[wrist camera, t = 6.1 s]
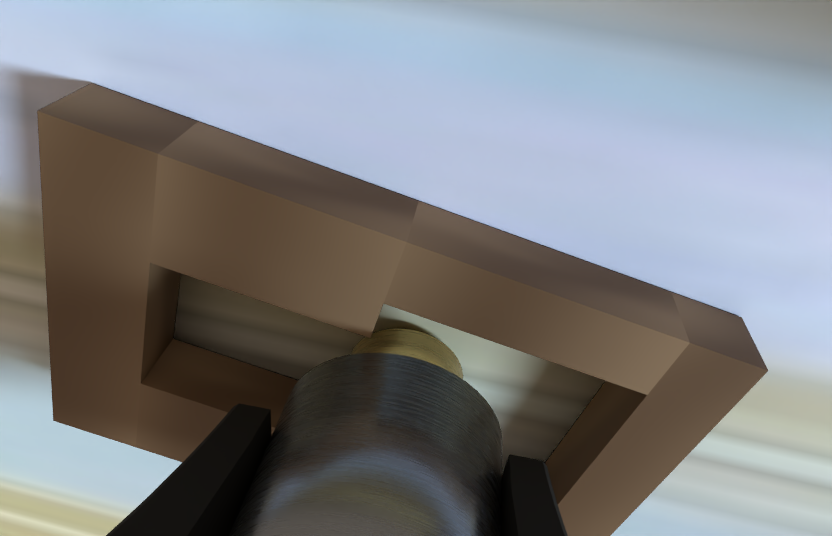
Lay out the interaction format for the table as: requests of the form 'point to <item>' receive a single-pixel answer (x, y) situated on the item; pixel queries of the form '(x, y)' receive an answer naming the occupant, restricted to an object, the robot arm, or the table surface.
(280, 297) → the keyhole plate
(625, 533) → the table surface
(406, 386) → the peg
